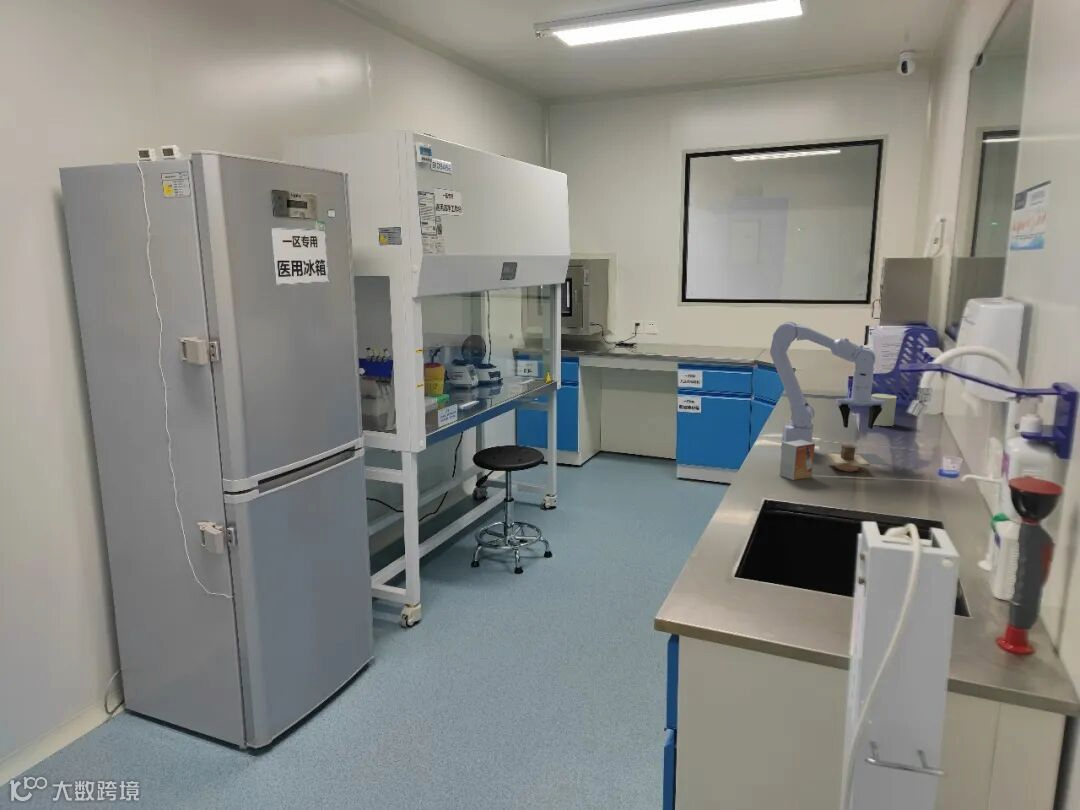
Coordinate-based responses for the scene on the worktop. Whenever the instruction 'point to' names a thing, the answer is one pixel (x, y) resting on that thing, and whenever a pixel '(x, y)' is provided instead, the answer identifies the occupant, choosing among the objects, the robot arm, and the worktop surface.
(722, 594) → the worktop surface
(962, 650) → the worktop surface
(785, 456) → the small box
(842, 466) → the pink rounded disc
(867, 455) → the mat
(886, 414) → the can
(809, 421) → the robot arm
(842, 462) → the lid
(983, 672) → the worktop surface
